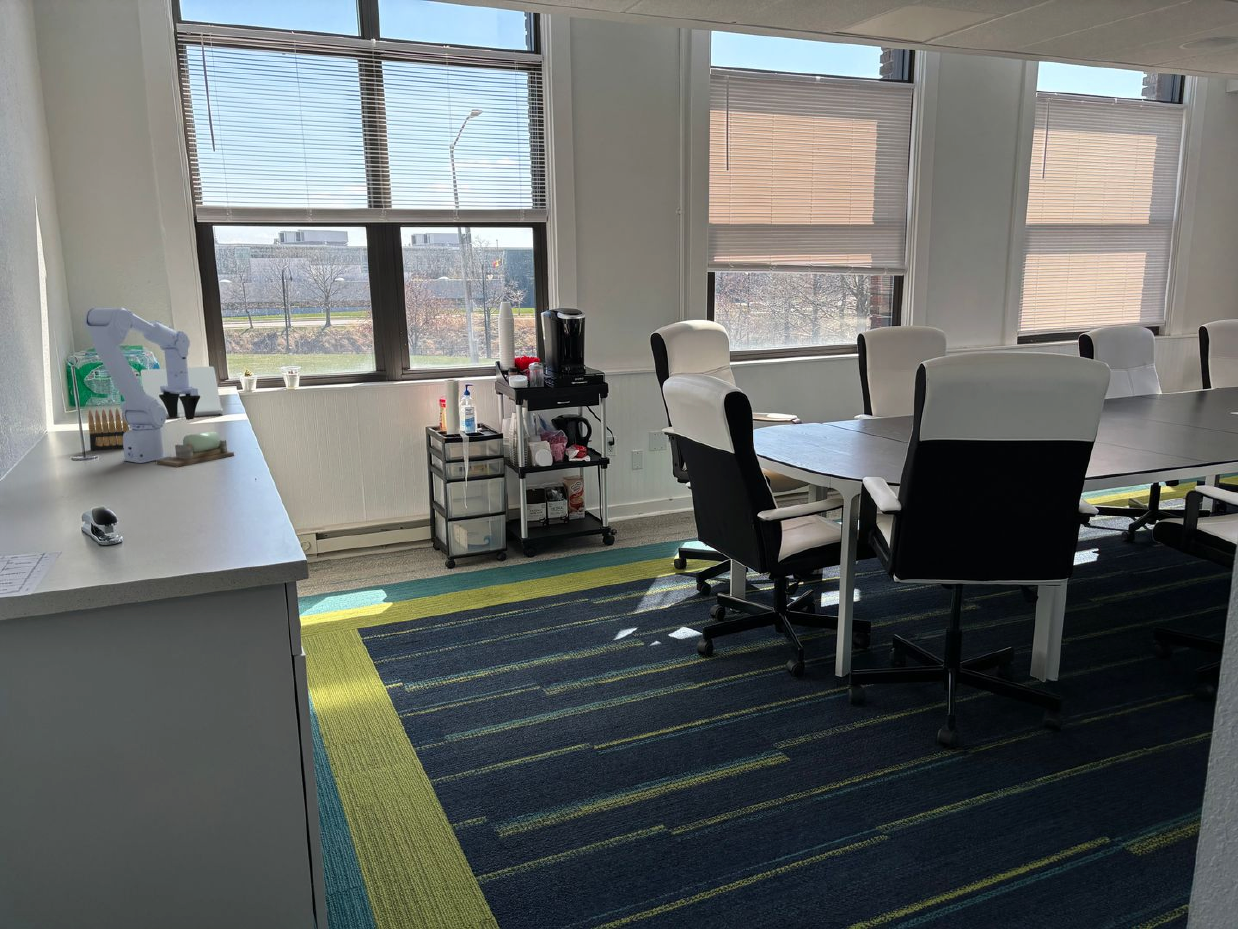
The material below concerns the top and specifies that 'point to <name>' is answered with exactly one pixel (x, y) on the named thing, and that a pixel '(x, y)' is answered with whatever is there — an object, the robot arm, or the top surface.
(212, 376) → the tablet stand
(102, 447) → the ammunition clip
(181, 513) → the top surface
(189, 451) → the holder
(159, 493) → the top surface
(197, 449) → the roll
